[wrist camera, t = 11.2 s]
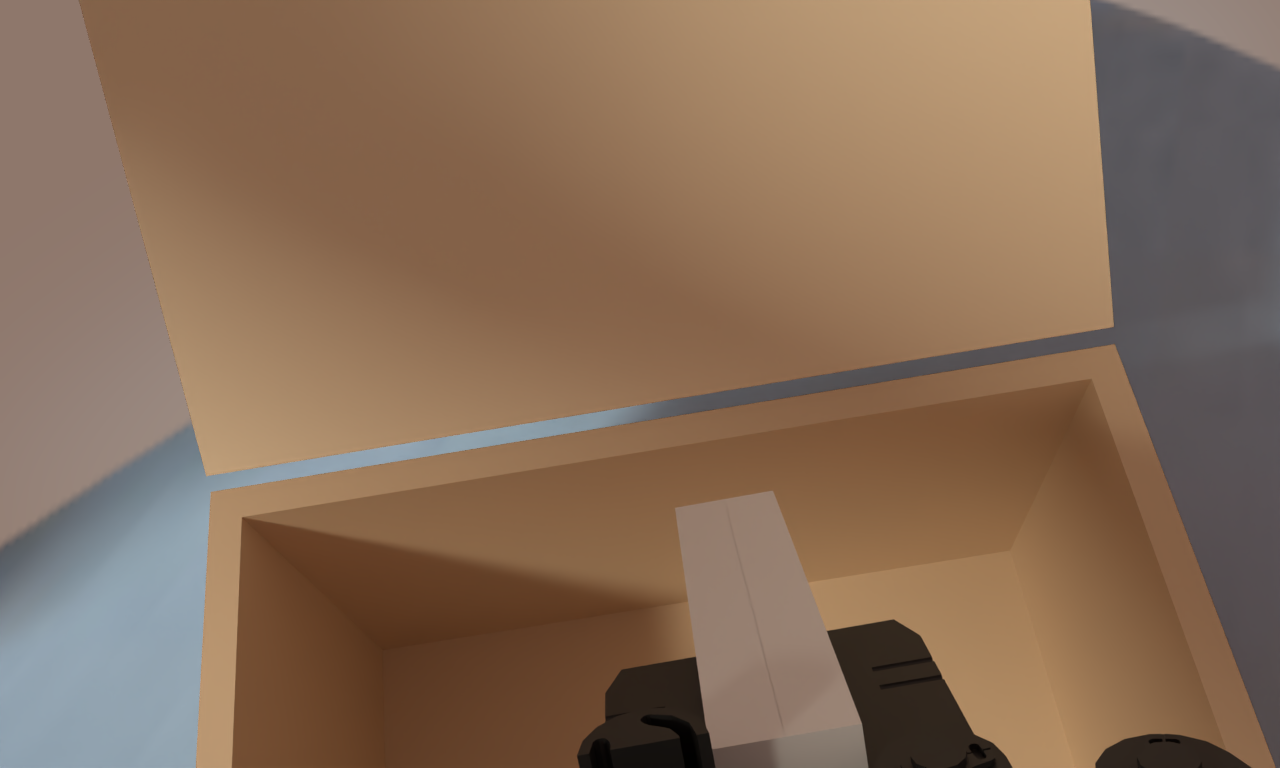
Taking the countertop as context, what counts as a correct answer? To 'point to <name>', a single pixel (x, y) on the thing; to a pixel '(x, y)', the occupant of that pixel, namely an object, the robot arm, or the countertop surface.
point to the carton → (656, 590)
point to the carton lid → (590, 200)
